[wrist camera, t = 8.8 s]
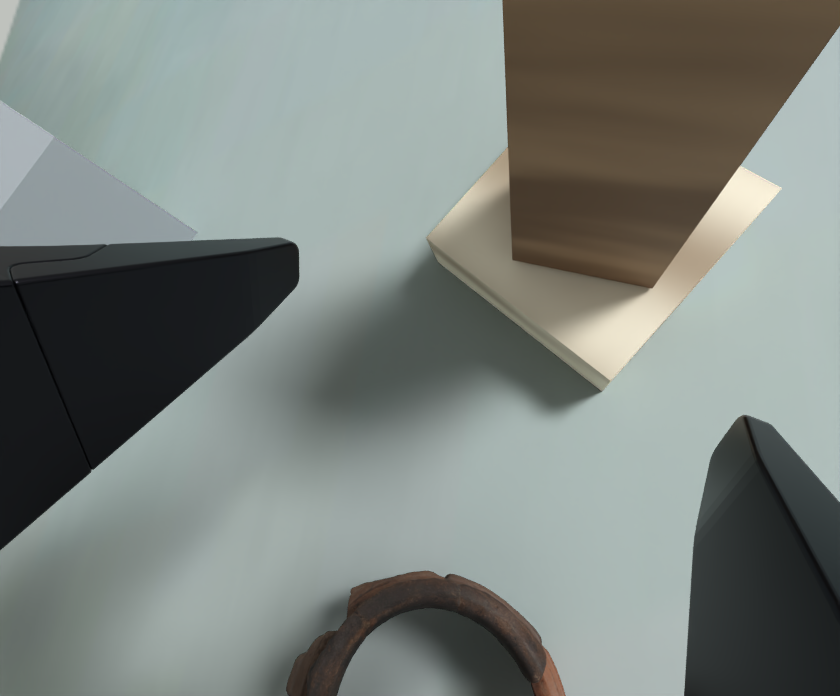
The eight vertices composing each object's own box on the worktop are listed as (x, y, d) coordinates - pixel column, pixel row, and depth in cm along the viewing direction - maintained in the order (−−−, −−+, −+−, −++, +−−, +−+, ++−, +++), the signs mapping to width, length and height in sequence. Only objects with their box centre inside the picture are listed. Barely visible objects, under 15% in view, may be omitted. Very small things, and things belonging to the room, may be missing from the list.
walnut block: (652, 288, 17) (928, -98, 5) (512, 259, 18) (498, -101, 7) (675, 188, 18) (960, -336, 6) (539, 168, 19) (567, -296, 7)
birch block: (600, 393, 19) (610, 380, 17) (440, 266, 22) (425, 237, 20) (747, 228, 20) (781, 188, 17) (568, 124, 23) (572, 75, 20)
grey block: (143, 309, 25) (-26, 244, 18) (89, 266, 27) (-86, 191, 20) (197, 232, 26) (54, 136, 18) (141, 195, 27) (-12, 92, 20)
